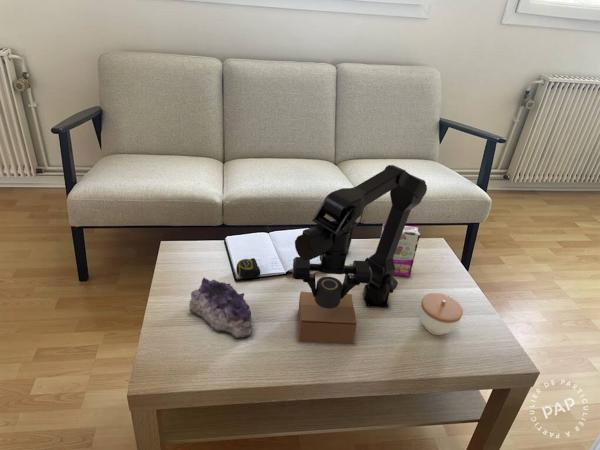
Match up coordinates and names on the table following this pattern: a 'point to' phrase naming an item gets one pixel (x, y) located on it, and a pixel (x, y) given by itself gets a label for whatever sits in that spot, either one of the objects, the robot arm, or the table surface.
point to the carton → (326, 324)
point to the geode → (222, 308)
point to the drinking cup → (351, 236)
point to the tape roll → (328, 292)
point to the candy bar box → (405, 250)
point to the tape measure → (248, 268)
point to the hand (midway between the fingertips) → (327, 296)
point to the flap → (309, 300)
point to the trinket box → (440, 313)
